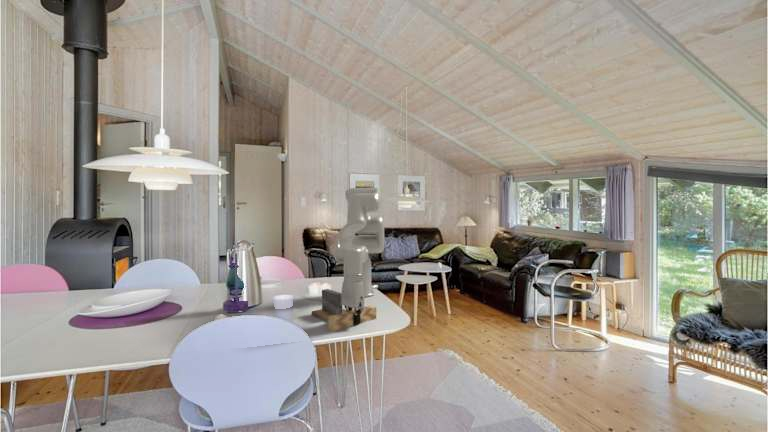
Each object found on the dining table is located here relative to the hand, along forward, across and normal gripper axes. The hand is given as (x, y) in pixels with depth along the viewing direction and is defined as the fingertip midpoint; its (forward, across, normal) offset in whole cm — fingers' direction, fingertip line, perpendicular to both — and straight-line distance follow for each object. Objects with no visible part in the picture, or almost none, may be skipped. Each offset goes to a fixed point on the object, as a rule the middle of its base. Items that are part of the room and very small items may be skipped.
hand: (353, 322), depth 155 cm
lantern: (+1, -52, -27) cm, 59 cm away
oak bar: (+1, 0, 0) cm, 1 cm away
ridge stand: (0, -15, 0) cm, 15 cm away
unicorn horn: (+1, -26, -38) cm, 46 cm away
